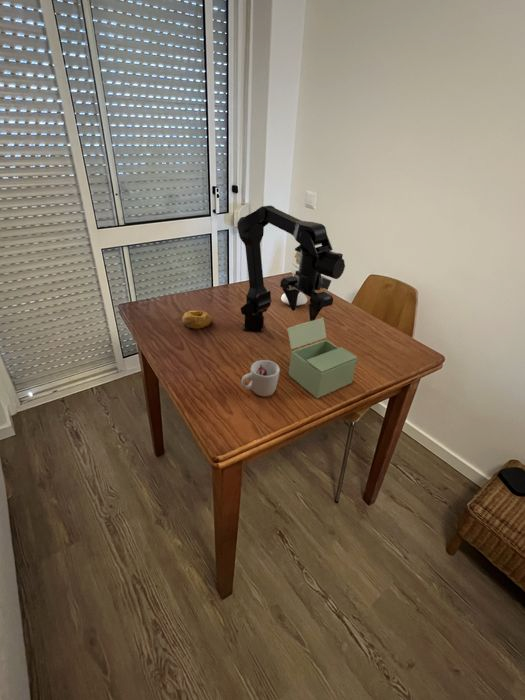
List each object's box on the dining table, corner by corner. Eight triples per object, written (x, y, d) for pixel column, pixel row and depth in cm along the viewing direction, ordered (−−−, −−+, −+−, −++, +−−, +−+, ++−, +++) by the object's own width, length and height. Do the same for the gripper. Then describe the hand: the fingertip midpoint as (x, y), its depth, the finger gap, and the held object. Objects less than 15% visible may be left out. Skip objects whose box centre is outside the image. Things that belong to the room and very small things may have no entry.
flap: (291, 349, 102) (290, 349, 102) (326, 337, 109) (325, 337, 109) (287, 328, 101) (287, 328, 101) (323, 317, 108) (322, 317, 108)
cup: (246, 405, 94) (247, 381, 90) (236, 387, 100) (236, 364, 96) (282, 396, 98) (284, 373, 94) (270, 379, 104) (272, 357, 100)
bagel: (215, 326, 130) (215, 315, 127) (186, 332, 126) (185, 320, 123) (207, 315, 137) (206, 304, 135) (179, 320, 133) (178, 308, 130)
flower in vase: (275, 303, 151) (280, 244, 137) (289, 295, 159) (295, 239, 145) (302, 312, 145) (309, 251, 131) (314, 303, 153) (323, 245, 139)
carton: (288, 374, 107) (291, 349, 102) (322, 361, 114) (326, 337, 109) (317, 398, 98) (321, 371, 93) (351, 382, 105) (357, 357, 100)
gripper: (350, 274, 101) (341, 322, 109) (308, 256, 114) (303, 300, 122) (322, 281, 95) (314, 331, 104) (281, 260, 108) (277, 306, 116)
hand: (302, 316), depth 112 cm, fingers open, 9 cm apart
